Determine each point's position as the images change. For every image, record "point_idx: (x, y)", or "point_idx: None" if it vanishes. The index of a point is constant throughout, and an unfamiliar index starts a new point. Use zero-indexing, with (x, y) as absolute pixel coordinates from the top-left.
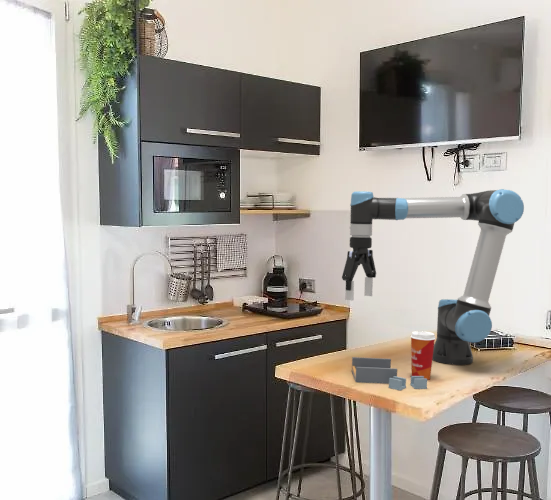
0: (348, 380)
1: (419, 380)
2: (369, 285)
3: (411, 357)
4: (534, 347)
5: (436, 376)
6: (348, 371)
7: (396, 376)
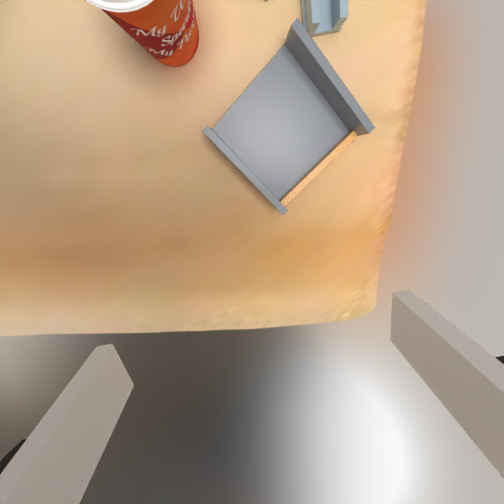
0: (353, 155)
1: None
2: (65, 446)
3: (181, 32)
4: None
5: None
6: None
7: (312, 14)
